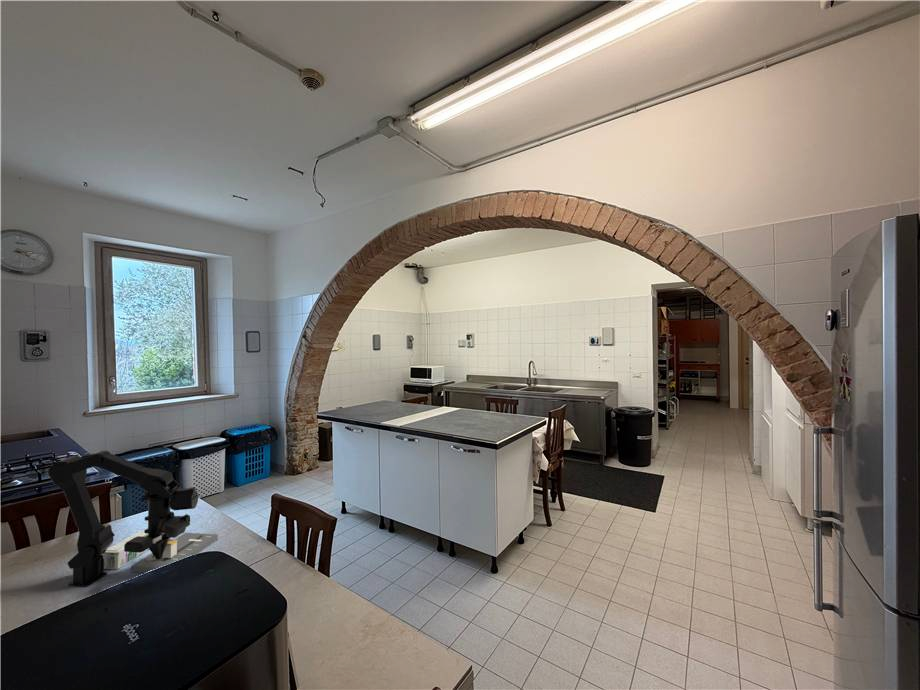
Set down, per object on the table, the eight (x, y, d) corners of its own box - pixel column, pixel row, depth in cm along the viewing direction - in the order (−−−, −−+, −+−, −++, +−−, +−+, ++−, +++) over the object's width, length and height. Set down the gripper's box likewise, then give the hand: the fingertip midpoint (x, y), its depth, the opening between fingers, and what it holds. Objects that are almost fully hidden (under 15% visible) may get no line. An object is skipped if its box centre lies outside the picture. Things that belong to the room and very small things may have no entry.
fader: (170, 558, 126) (171, 543, 126) (162, 557, 127) (162, 543, 127) (177, 553, 129) (177, 539, 129) (168, 553, 129) (168, 539, 129)
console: (168, 574, 121) (168, 565, 121) (131, 572, 122) (131, 563, 122) (217, 539, 143) (217, 531, 143) (185, 537, 144) (185, 530, 144)
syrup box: (154, 546, 138) (118, 569, 124) (139, 545, 138) (100, 569, 124) (155, 530, 138) (118, 552, 124) (139, 530, 138) (101, 552, 124)
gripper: (156, 526, 114) (156, 577, 114) (203, 500, 132) (203, 545, 132) (122, 524, 115) (122, 575, 115) (174, 499, 133) (174, 543, 133)
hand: (158, 558), depth 124 cm, fingers closed
